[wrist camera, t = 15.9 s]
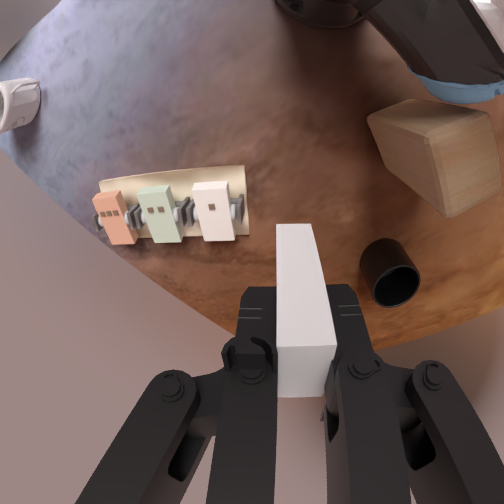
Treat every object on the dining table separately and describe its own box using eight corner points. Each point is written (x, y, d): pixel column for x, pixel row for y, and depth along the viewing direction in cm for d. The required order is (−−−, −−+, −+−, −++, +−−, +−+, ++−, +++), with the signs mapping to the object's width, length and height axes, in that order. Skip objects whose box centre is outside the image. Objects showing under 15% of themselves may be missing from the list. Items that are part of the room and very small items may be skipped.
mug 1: (20, 133, 39) (-12, 145, 30) (9, 95, 34) (-22, 103, 25) (55, 101, 36) (19, 109, 28) (43, 59, 31) (9, 62, 22)
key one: (190, 182, 39) (186, 191, 38) (232, 179, 39) (230, 188, 37) (203, 232, 47) (200, 242, 45) (239, 231, 46) (238, 241, 44)
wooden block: (430, 150, 38) (505, 193, 21) (384, 170, 41) (446, 224, 24) (412, 96, 33) (492, 110, 16) (362, 115, 36) (426, 136, 20)
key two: (137, 187, 40) (132, 196, 39) (173, 183, 40) (169, 192, 38) (155, 234, 47) (150, 243, 46) (187, 233, 47) (184, 243, 45)
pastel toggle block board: (102, 180, 45) (83, 192, 39) (244, 164, 42) (240, 176, 37) (117, 236, 51) (101, 253, 46) (249, 231, 49) (246, 251, 43)
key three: (95, 193, 41) (88, 201, 39) (124, 188, 41) (118, 197, 39) (114, 236, 48) (109, 245, 46) (141, 235, 47) (137, 244, 46)
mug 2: (387, 290, 54) (400, 319, 46) (350, 263, 51) (361, 294, 43) (417, 260, 49) (435, 287, 42) (383, 228, 46) (401, 255, 39)
